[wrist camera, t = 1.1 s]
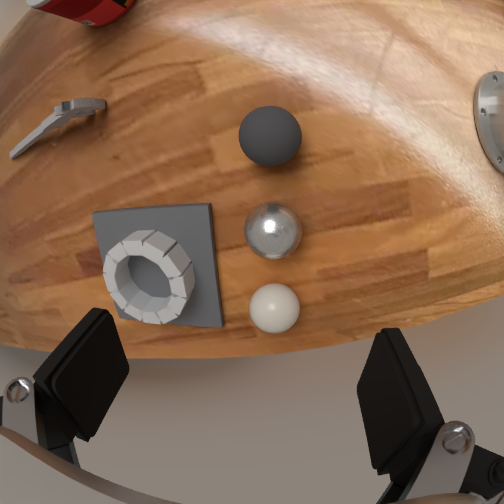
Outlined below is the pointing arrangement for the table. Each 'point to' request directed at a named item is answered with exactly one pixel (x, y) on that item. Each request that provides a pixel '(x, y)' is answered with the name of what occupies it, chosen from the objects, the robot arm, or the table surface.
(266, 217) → the steel ball
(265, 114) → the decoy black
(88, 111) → the caliper
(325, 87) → the table surface
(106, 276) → the housing
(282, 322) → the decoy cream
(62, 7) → the canned food
